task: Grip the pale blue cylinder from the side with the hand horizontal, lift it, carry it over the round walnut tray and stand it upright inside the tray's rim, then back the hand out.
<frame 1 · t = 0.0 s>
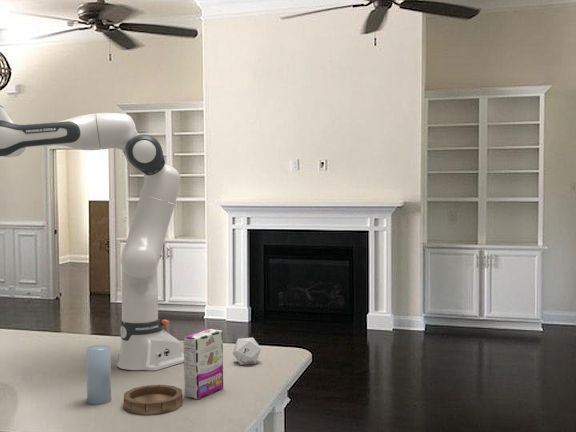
candy bar box: (203, 393, 171), on the kitchen island
pale blue cylinder: (99, 400, 165), on the kitchen island
tray: (153, 404, 162), on the kitchen island
die: (246, 363, 201), on the kitchen island
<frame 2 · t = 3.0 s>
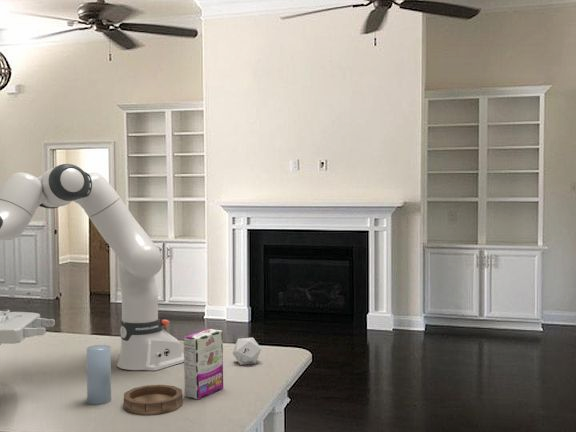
hand: (49, 327, 162), 20 cm above the kitchen island, tool horizontal, fingers open, 8 cm apart
nothing on the kitchen island moved.
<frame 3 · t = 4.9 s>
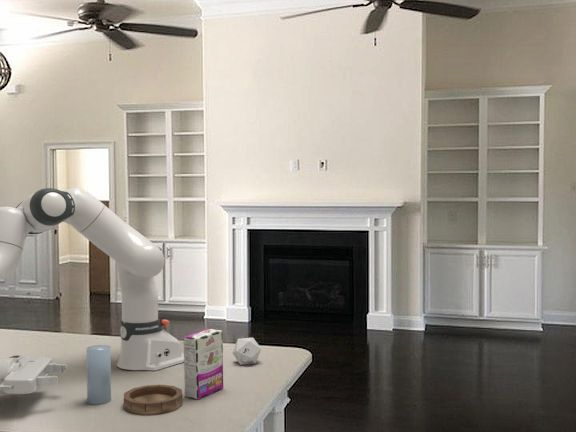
hand: (62, 373, 163), 7 cm above the kitchen island, tool horizontal, fingers open, 8 cm apart
nothing on the kitchen island moved.
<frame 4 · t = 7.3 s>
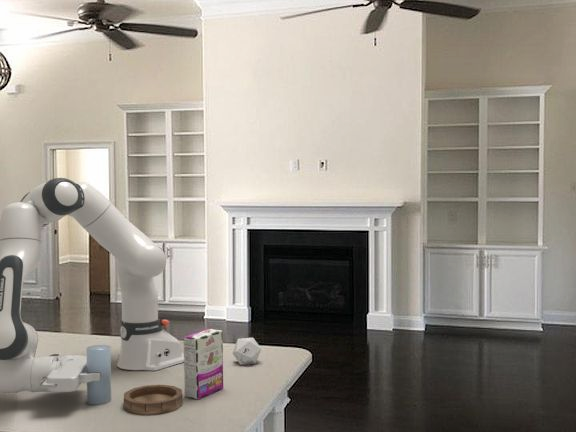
hand: (102, 372, 165), 8 cm above the kitchen island, tool horizontal, fingers closed on pale blue cylinder, 6 cm apart
pale blue cylinder: (99, 400, 165), on the kitchen island, touching gripper
everything else where it was.
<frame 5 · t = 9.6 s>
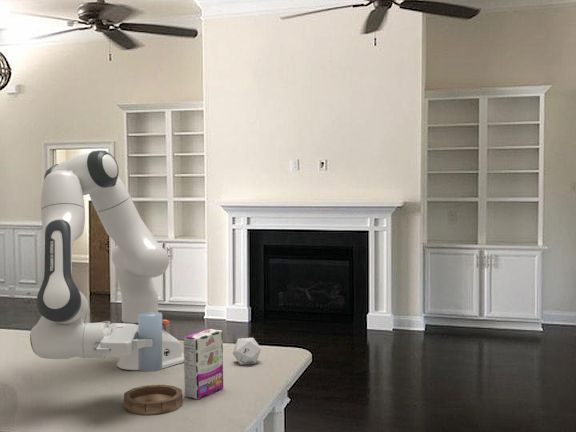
hand: (154, 339, 161), 17 cm above the kitchen island, tool horizontal, fingers closed on pale blue cylinder, 6 cm apart
pale blue cylinder: (150, 368, 162), point 9 cm above the kitchen island, touching gripper
everything else where it was.
when the fingers open (10 cm above the kitchen island, at t = 11.9 s): pale blue cylinder drops 1 cm, resting on tray.
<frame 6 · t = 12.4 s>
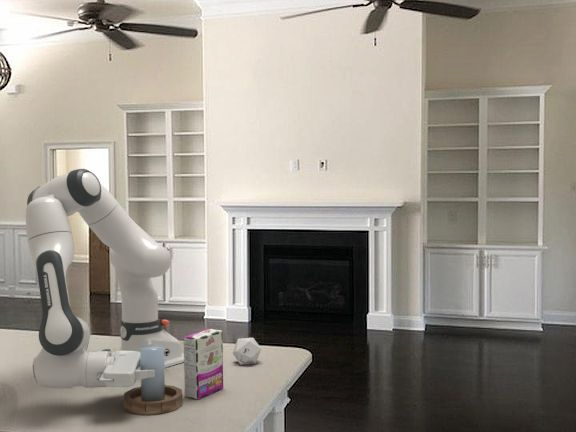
hand: (156, 367, 162), 10 cm above the kitchen island, tool horizontal, fingers open, 8 cm apart
pale blue cylinder: (153, 401, 162), point 1 cm above the kitchen island, touching tray
everything else where it was.
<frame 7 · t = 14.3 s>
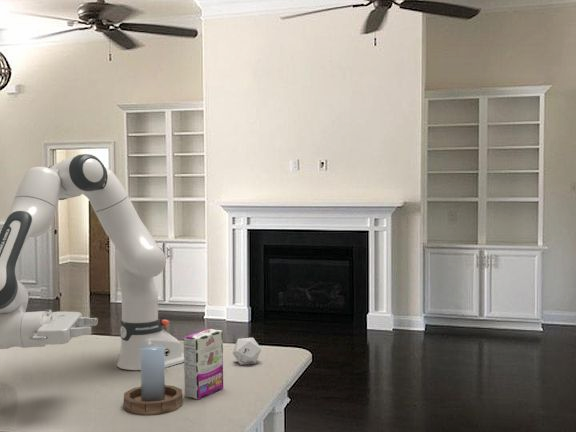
hand: (94, 325, 161), 20 cm above the kitchen island, tool horizontal, fingers open, 8 cm apart
nothing on the kitchen island moved.
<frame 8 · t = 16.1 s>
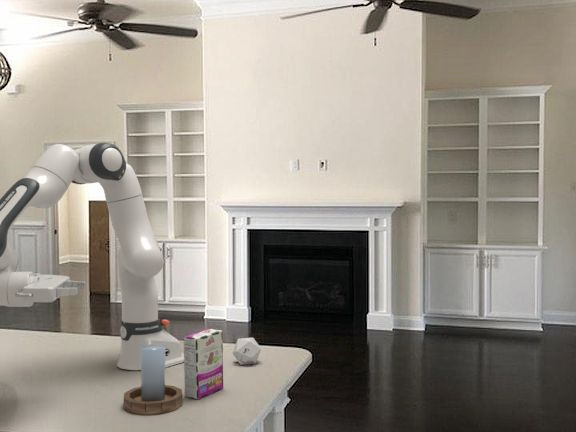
hand: (81, 288, 161), 30 cm above the kitchen island, tool horizontal, fingers open, 8 cm apart
nothing on the kitchen island moved.
at the end: pale blue cylinder 0.1 cm from the tray (horizontally); pale blue cylinder point 0.8 cm above the kitchen island; pale blue cylinder tilted 0° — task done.
